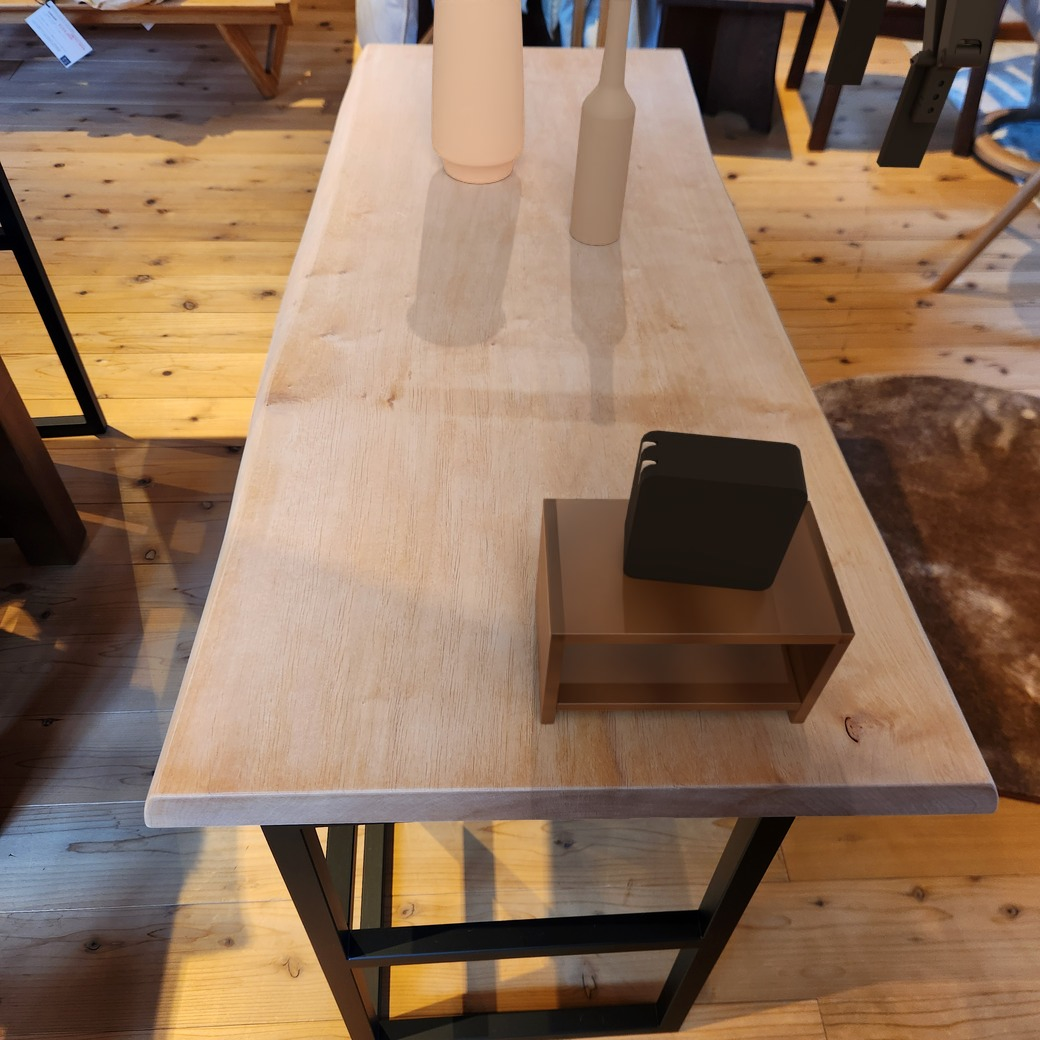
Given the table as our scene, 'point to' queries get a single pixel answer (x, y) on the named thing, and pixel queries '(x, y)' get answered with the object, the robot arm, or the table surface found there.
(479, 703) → the table surface
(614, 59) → the bottle
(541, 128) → the table surface
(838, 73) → the robot arm
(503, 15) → the vase
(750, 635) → the shelf
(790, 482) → the electronic device
